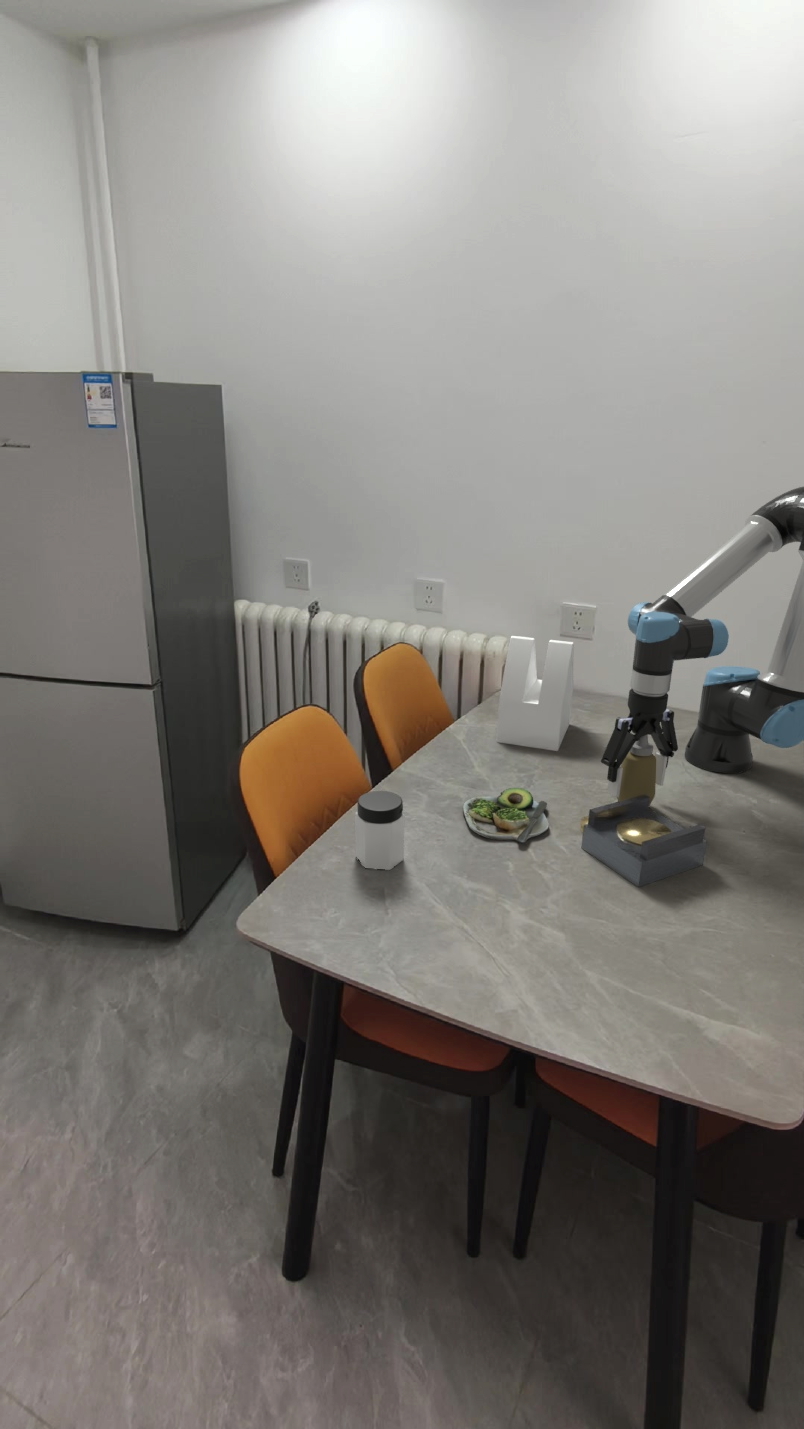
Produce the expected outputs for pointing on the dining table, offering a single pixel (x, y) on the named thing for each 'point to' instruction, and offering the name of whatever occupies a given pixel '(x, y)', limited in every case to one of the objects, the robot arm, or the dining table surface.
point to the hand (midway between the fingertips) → (635, 788)
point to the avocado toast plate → (507, 815)
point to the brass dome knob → (583, 823)
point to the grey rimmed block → (641, 841)
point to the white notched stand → (535, 695)
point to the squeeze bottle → (638, 771)
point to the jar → (379, 830)
